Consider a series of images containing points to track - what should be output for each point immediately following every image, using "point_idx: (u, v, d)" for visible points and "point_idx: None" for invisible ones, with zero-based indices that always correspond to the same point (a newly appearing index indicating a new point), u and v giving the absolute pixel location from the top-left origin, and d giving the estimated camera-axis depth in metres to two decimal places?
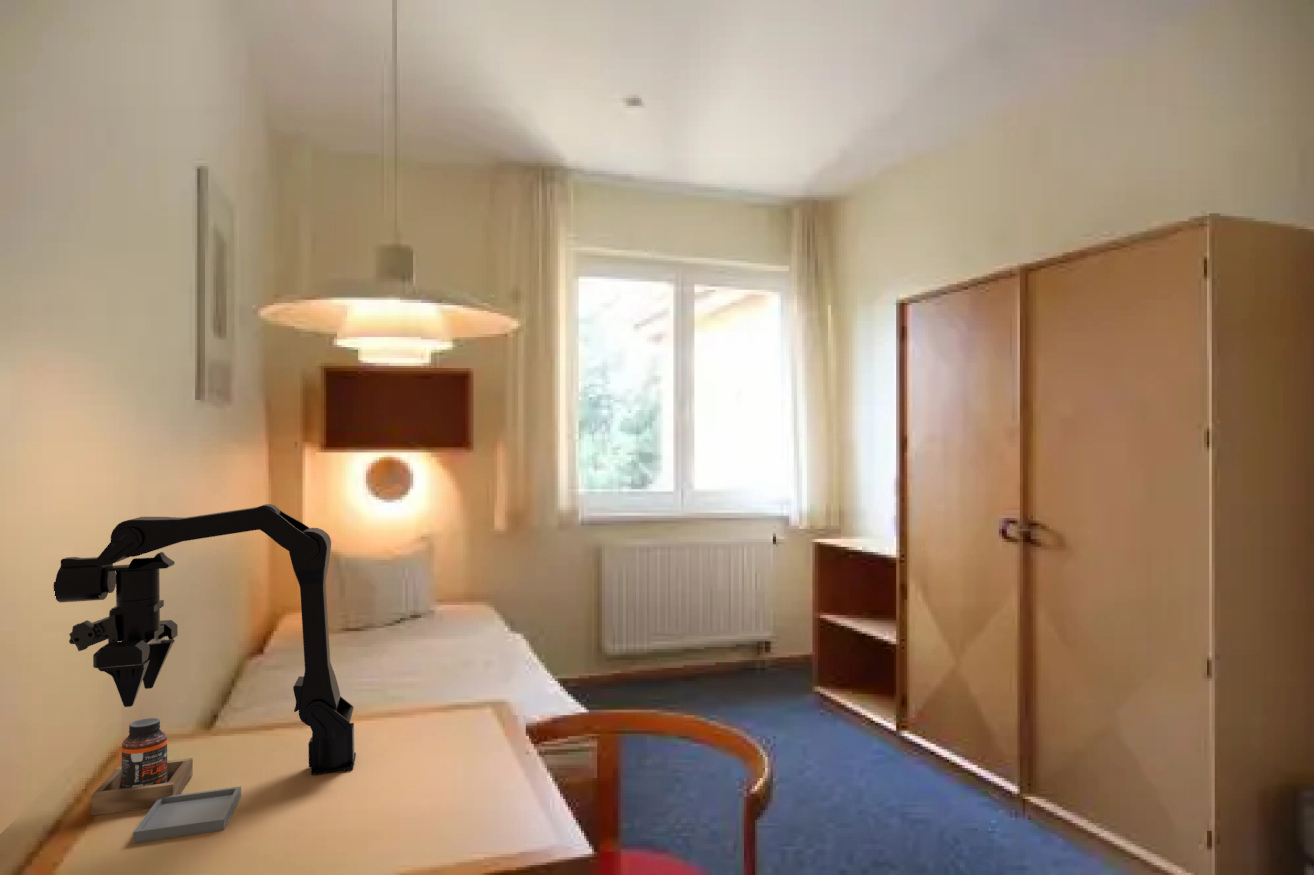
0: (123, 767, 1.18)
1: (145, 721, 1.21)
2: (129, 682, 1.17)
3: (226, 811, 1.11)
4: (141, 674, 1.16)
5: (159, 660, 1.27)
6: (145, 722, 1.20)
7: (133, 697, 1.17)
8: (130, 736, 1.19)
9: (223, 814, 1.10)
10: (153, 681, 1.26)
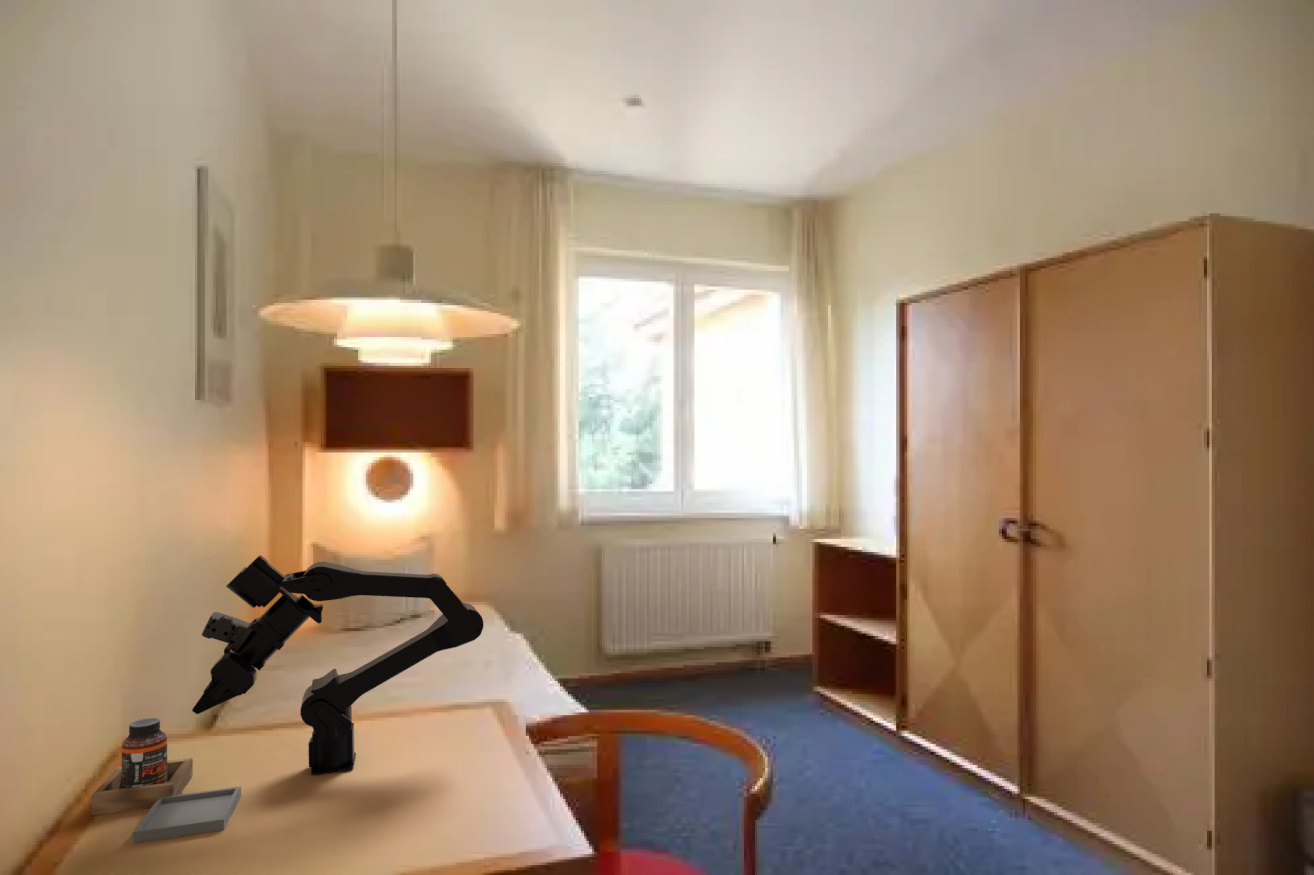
0: (123, 767, 1.18)
1: (145, 721, 1.21)
2: (216, 696, 1.19)
3: (226, 811, 1.11)
4: (231, 698, 1.19)
5: None
6: (145, 722, 1.20)
7: (205, 709, 1.19)
8: (130, 736, 1.19)
9: (223, 814, 1.10)
10: None
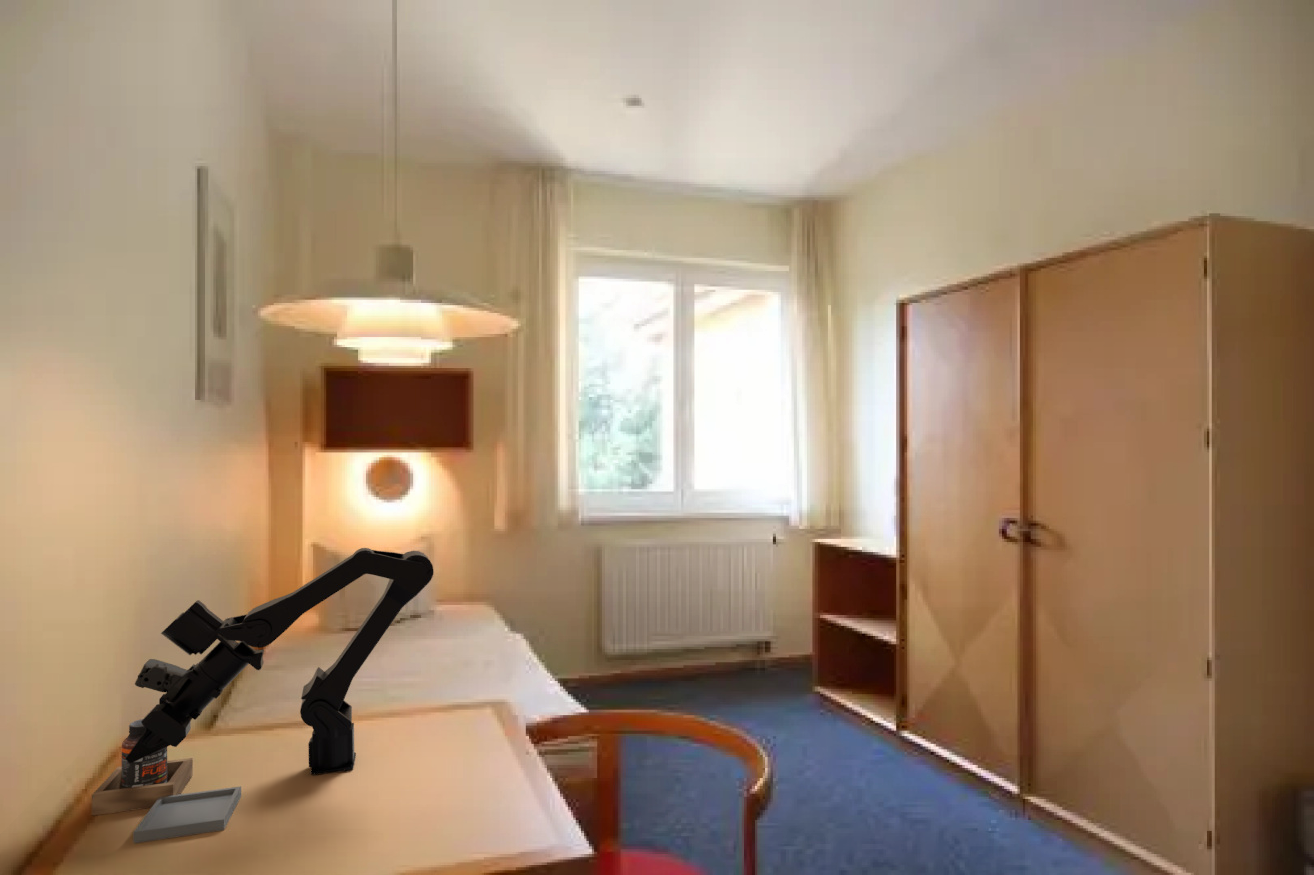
0: (123, 767, 1.18)
1: None
2: (150, 744, 1.17)
3: (226, 811, 1.11)
4: (165, 746, 1.17)
5: None
6: None
7: (139, 757, 1.17)
8: (130, 736, 1.19)
9: (223, 814, 1.10)
10: None
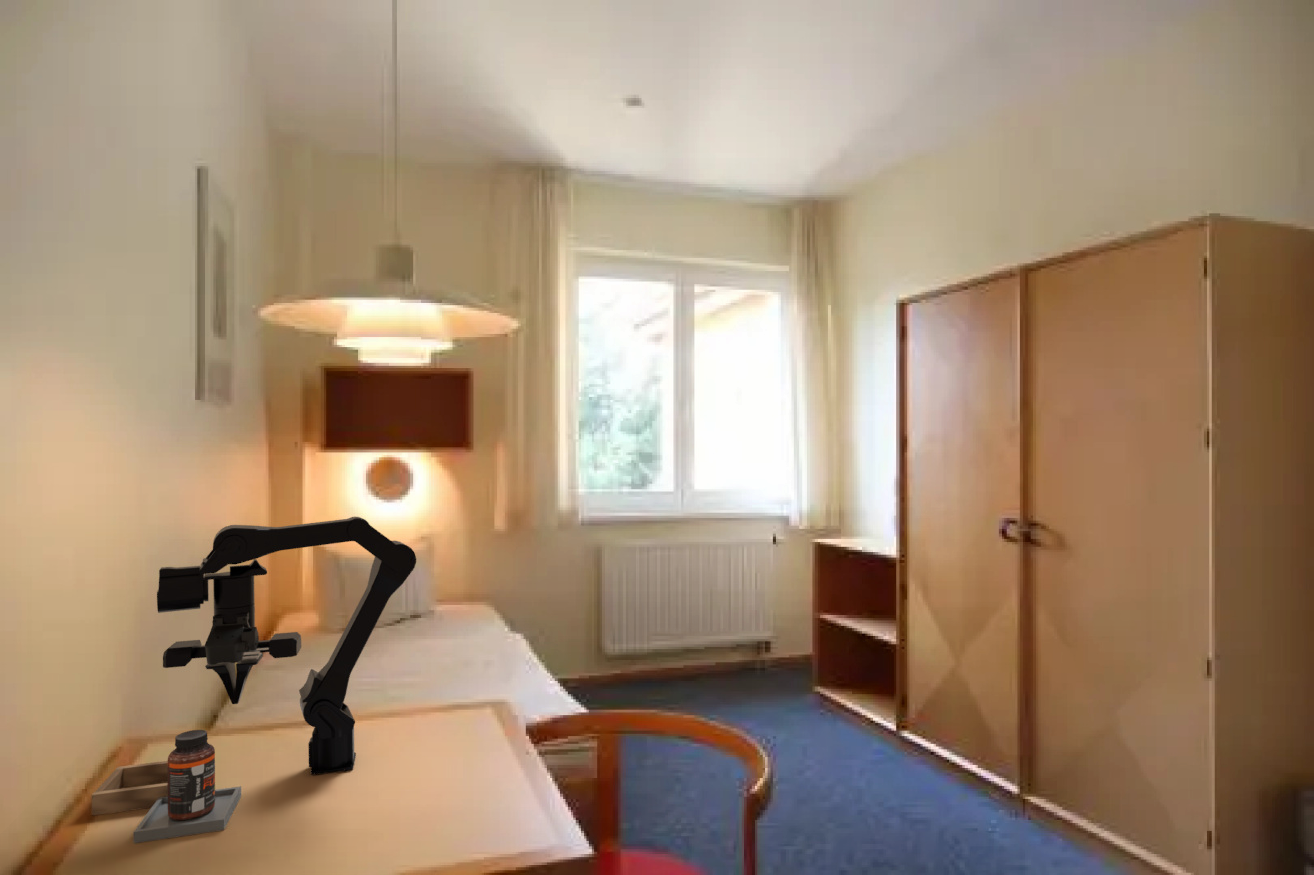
0: (179, 784, 1.10)
1: (190, 733, 1.13)
2: (245, 676, 1.24)
3: (226, 811, 1.11)
4: (252, 665, 1.26)
5: (234, 673, 1.25)
6: (193, 734, 1.13)
7: None
8: (182, 750, 1.11)
9: (223, 814, 1.10)
10: None
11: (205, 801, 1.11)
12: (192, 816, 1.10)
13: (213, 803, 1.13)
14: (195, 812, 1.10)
